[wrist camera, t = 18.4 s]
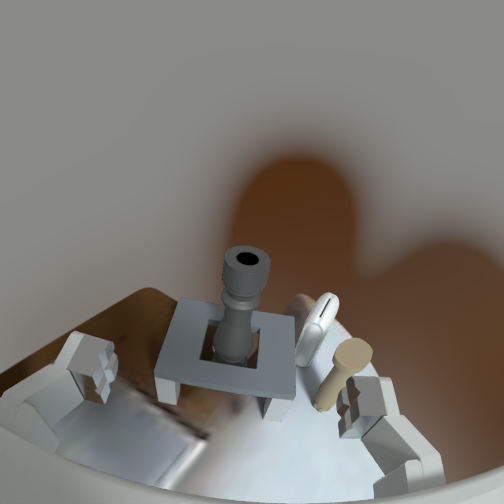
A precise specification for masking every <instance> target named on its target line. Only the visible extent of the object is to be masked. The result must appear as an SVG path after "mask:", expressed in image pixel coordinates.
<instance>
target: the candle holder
mask: <svg viewBox="0 0 504 504" xmlns="http://www.w3.org/2000/svg"><path fill="white" fill-rule="evenodd" d="M270 265H271V262H270V258H269V256H268V255H267V254H266V253H265V252H263V251H262V250H260V249H258V248H255V247H252V246H235V247H232V248H230V249H228V251H227V252H226V253H225V256H224V264H223V273H222V280H223V282H224V286H225V288H224V289H223V291H222V301H223V303H224V305H225V310H224V316H223V318H222V320H221V322H220V324H219V326H218V328H217V330H216V332H215V334H214V336H213V346H214V348H215V353H214V354H213V358H212V359H211V362H215V363H221V364H226V365H232V366H239V367H245V368H247V357H246V356H247V355H248V354H249V353H250V351H251V349H252V347H253V338H252V328H251V317H252V312H253V310H254V309H255V308H257V307H258V305H259V303H260V294H259V293H260V292H261V290H262V289H263V288H264V287H265V285H266V282H267V278H268V273H269V269H270Z"/></svg>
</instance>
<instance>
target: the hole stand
mask: <svg viewBox="0 0 504 504" xmlns="http://www.w3.org/2000/svg"><path fill="white" fill-rule="evenodd" d="M224 310H225V305H219V304H213V303H208V302H202V301H197V300H192V299H186V298H181V297H180V299H179V302H178V304H177V307H176V310H175V313H174V315H173V318H172V321H171V323H170V326H169V329H168V332H167V335H166V337H165V340H164V343H163V346H162V349H161V351H160V354H159V357H158V360H157V363H156V366H155V369H154V377H155V383H156V390H157V396H158V401H160V402H164V403H168V404H173V405H177V401H178V397H179V393H180V383H183V384H188V385H193V386H198V387H203V388H208V389H214V390H220V391H225V392H232V393H238V394H244V395H251V396H259V397H266V398H267V399H266V401H265V404H264V413H263V420H267V421H277V422H282V420H283V418H284V416H285V414H286V413H287V411H288V409H289V407H290V405H291V403H292V401H293V400H294V398H295V396H296V367H295V317H292V316H286V315H279V314H273V313H266V312H260V311H254V310H253V312H252V317H251V328H252V333H259V339H258V350H257V361H256V369H251V368H245V367H239V366H232V365H226V364H221V363H215V362H210V361H204V360H200V357H201V353H202V348H203V344H204V340H205V336H206V332H207V328H208V325H212V326H217V327H218V326H219V324H220V322H221V320H222V318H223V316H224Z"/></svg>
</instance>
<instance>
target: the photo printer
mask: <svg viewBox="0 0 504 504" xmlns="http://www.w3.org/2000/svg"><path fill="white" fill-rule="evenodd" d="M338 307H339V300H338V298H337V296H336V295H333V294H331V293H326V294H324V295H322V296H321V297H320V298H319V299H318V301H317V302H316V303H315V305H314V306H313V308H312V310H311V311H310V313H309V315H308V317H307V319H306V321H305V324H304V326H303V329H302V331H301V334H300V336H299V339H298V341H297V344H296V346H295V364H296V365H298V366H300V367H308V366H309V365H310V364H311V363H312V361H313V360H314V358H315V356H316V354H317V353H318V351H319V349H320V347H321V345H322V343H323V341H324V339H325V337H326V334H327V332H328V330H329V328H330V326H331V324H332V321H333V319H334V317H335V315H336V313H337V310H338Z"/></svg>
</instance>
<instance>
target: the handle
mask: <svg viewBox="0 0 504 504" xmlns="http://www.w3.org/2000/svg"><path fill="white" fill-rule="evenodd" d="M372 352H373V351H372V349H371V347H370V346H369V345H368V344H367V343H366V342H365V341H363V340H361V339H359V338H352V339H347V340H345V341H344V342H342V343H341V344H340V345H339V346H338V347H337V349H336V351H335V353H334V356H333V359H332V361H333V364H334V367H333V368H332V370H331V371H330V373H329V374H328V375H327V377H326V378H325V380H324V381H323V382H322V384H321V386H320V388H319V390H318V392H317V394H316V397H315V402H314V405H313V406H314V408H316V409H317V410H318V411H319V412H321V411H328V410H329V409H330V408H331V407H332V406H333V405H334V404H335V403H336V402H337V397H338V393H339V392H340V390H341V388H343V387H345V386H346V381H347V379H348V378H349V377H351V376H353V375H354V374H355V373H358V372H360V371H362V370H363V369H364V368H365V367H366V366H367V364H368V363H369V361H370V360H371V357H372Z"/></svg>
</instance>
